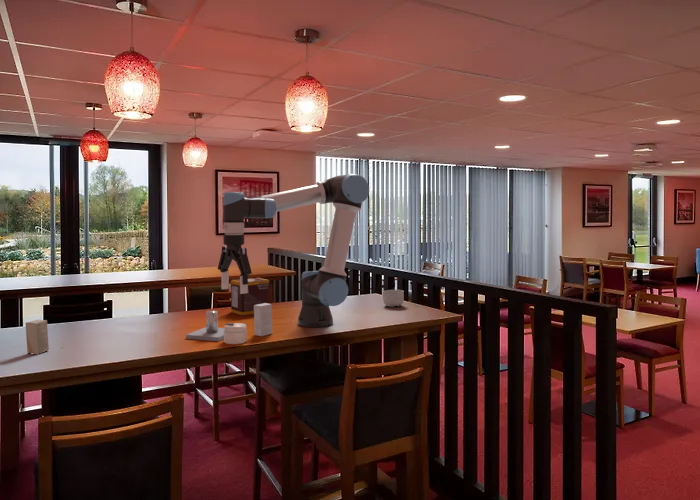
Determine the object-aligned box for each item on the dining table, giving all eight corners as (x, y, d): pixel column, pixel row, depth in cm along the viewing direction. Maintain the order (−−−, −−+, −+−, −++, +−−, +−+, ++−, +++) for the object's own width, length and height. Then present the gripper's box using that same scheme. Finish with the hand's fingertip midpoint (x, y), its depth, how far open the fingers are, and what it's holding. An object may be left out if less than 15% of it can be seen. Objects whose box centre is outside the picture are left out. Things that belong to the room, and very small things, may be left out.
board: (237, 332, 208) (237, 329, 208) (218, 341, 195) (218, 337, 194) (206, 330, 212) (206, 326, 212) (186, 338, 199) (186, 334, 198)
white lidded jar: (250, 339, 197) (250, 322, 197) (239, 344, 190) (239, 327, 189) (231, 338, 200) (231, 321, 199) (220, 343, 192) (220, 325, 192)
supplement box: (270, 311, 251) (269, 279, 250) (241, 315, 242) (240, 282, 240) (259, 308, 259) (258, 277, 258) (230, 312, 249) (230, 280, 248)
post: (220, 331, 205) (219, 310, 204) (214, 333, 200) (213, 313, 200) (210, 330, 206) (209, 310, 205) (204, 332, 202) (203, 312, 201)
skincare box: (265, 332, 209) (265, 302, 208) (272, 333, 207) (272, 304, 206) (253, 334, 205) (253, 304, 204) (260, 336, 202) (260, 306, 201)
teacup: (397, 309, 258) (397, 293, 257) (378, 306, 264) (378, 291, 263) (410, 304, 269) (410, 289, 269) (391, 302, 275) (391, 287, 275)
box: (39, 350, 182) (38, 319, 181) (49, 351, 181) (48, 319, 180) (26, 354, 177) (24, 322, 176) (36, 355, 176) (34, 323, 175)
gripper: (208, 233, 199) (209, 288, 200) (242, 235, 180) (243, 296, 182) (226, 232, 204) (226, 286, 205) (261, 235, 185) (261, 294, 187)
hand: (234, 291), depth 194 cm, fingers open, 13 cm apart
